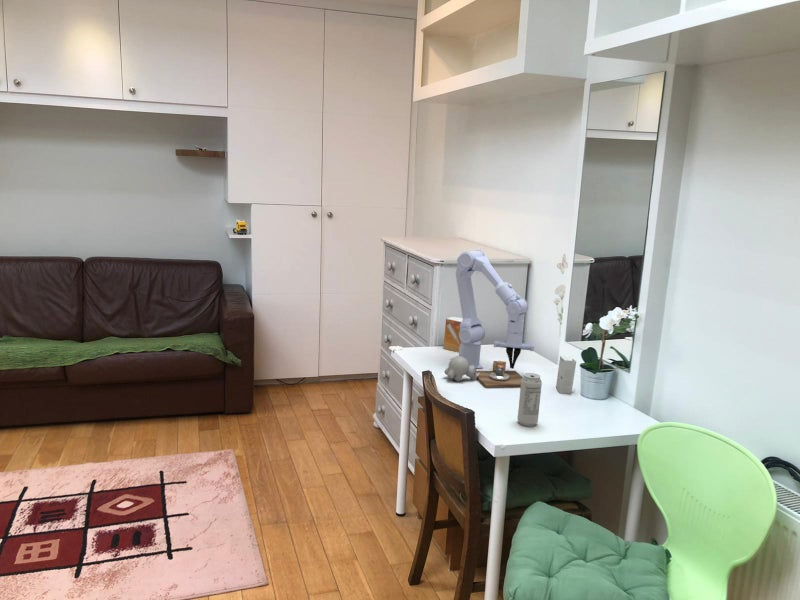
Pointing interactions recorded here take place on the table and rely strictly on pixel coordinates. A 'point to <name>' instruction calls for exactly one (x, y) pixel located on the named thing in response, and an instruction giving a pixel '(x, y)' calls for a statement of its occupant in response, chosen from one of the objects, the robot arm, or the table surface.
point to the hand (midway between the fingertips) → (511, 367)
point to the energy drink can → (529, 399)
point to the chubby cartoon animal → (460, 369)
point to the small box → (452, 333)
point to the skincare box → (566, 374)
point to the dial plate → (493, 375)
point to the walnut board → (488, 382)
